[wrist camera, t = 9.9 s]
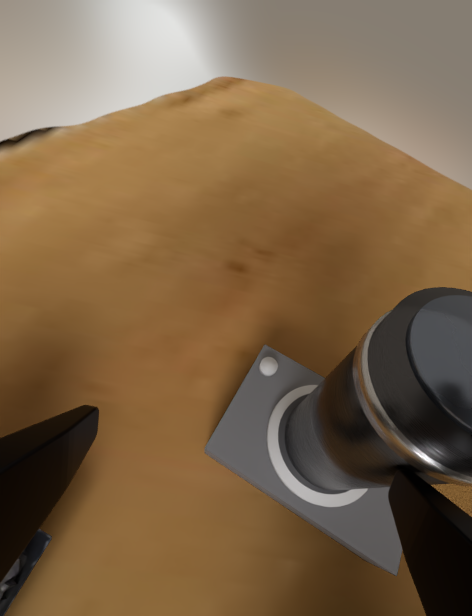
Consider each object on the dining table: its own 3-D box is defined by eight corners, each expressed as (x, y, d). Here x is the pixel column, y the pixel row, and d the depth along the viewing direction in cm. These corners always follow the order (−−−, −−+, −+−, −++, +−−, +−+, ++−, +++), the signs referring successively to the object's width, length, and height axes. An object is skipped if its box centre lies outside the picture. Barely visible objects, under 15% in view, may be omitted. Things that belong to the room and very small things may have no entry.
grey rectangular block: (396, 441, 22) (435, 433, 19) (365, 560, 18) (406, 581, 15) (257, 361, 25) (267, 339, 21) (204, 453, 21) (204, 446, 17)
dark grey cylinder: (377, 422, 18) (593, 327, 8) (356, 512, 16) (638, 540, 5) (300, 383, 19) (406, 253, 9) (268, 461, 17) (367, 403, 6)
